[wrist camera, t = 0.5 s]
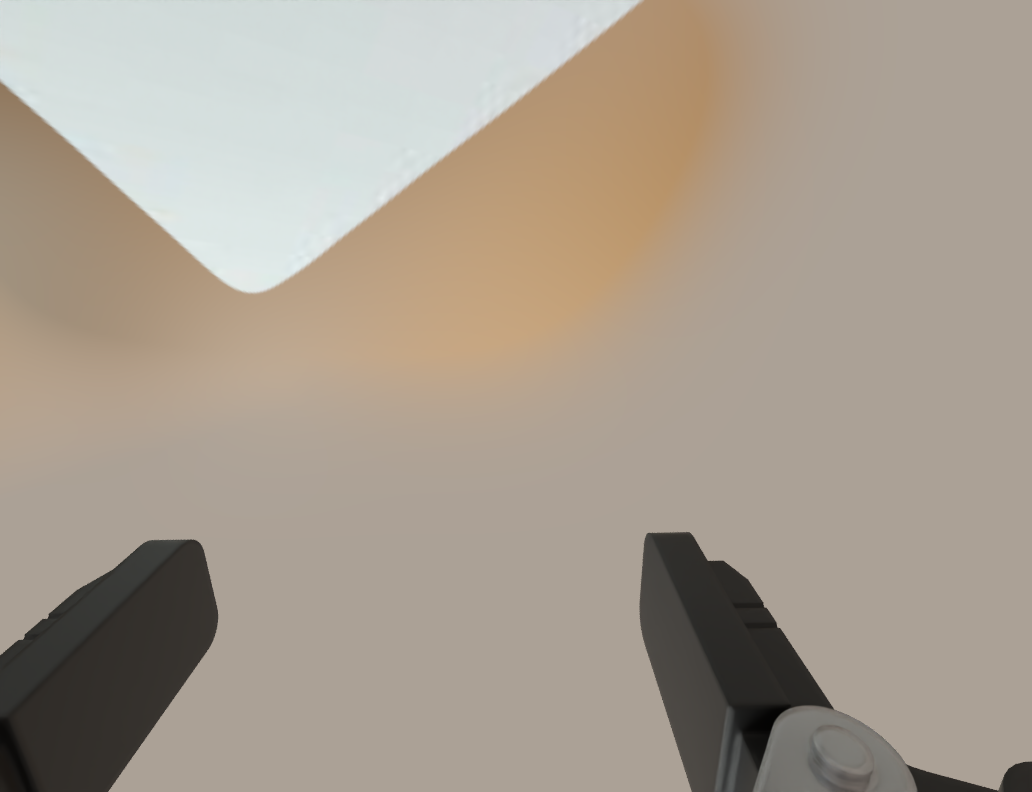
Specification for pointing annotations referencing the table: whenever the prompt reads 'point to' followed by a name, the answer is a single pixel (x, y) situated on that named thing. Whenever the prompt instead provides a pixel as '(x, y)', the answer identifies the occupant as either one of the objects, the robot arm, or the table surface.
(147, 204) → the table surface
